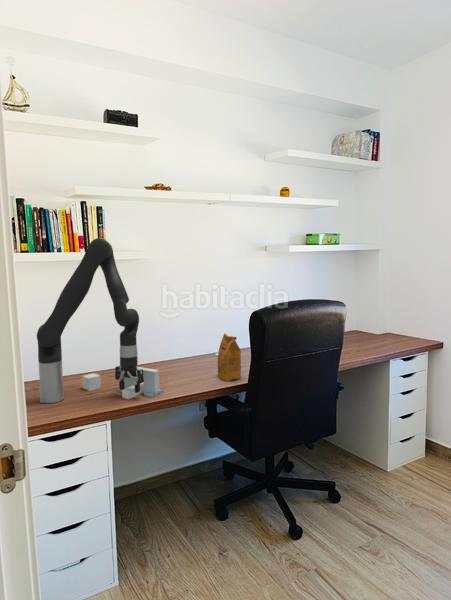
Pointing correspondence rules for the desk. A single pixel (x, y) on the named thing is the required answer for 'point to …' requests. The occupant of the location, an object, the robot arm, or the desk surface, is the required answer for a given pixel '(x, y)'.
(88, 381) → the white cube
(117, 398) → the desk surface
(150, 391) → the port plate
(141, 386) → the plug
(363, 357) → the desk surface
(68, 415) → the desk surface
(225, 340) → the coffee package
